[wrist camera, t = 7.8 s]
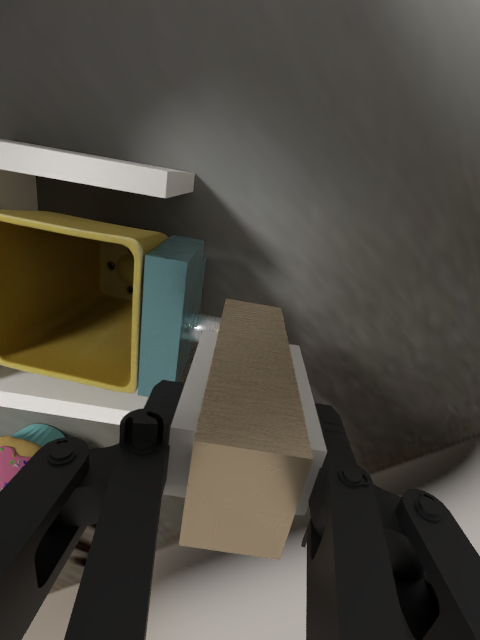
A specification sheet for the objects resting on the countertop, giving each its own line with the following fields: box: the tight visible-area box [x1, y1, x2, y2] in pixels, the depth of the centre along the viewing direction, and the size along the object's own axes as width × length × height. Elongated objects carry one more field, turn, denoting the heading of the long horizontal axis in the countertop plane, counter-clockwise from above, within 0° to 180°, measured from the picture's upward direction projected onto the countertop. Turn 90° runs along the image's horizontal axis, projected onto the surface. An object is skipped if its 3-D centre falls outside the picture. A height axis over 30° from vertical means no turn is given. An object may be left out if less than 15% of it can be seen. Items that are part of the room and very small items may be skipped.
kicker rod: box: [138, 235, 313, 560], centre depth 17 cm, size 8×7×18 cm
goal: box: [0, 139, 195, 425], centre depth 22 cm, size 15×12×8 cm
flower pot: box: [0, 209, 168, 394], centre depth 21 cm, size 9×9×9 cm
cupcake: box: [0, 424, 65, 491], centre depth 28 cm, size 9×8×12 cm
